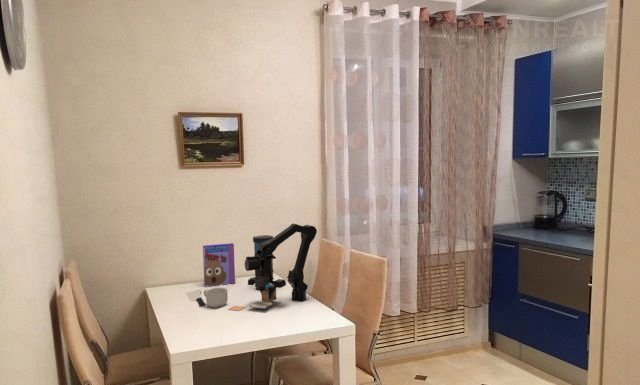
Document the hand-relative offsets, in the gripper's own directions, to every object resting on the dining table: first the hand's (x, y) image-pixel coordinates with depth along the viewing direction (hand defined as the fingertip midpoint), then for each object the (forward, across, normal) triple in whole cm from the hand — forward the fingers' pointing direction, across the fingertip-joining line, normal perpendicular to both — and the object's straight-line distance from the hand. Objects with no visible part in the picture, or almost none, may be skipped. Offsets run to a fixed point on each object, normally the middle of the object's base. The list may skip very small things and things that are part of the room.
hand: (267, 299), depth 221 cm
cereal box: (+4, -48, +28) cm, 56 cm away
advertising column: (+4, -17, +27) cm, 32 cm away
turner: (+1, 0, -1) cm, 2 cm away
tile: (+3, -12, -7) cm, 14 cm away
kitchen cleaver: (+4, -43, -1) cm, 43 cm away
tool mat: (+4, 0, -2) cm, 4 cm away
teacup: (+4, -26, -7) cm, 27 cm away
